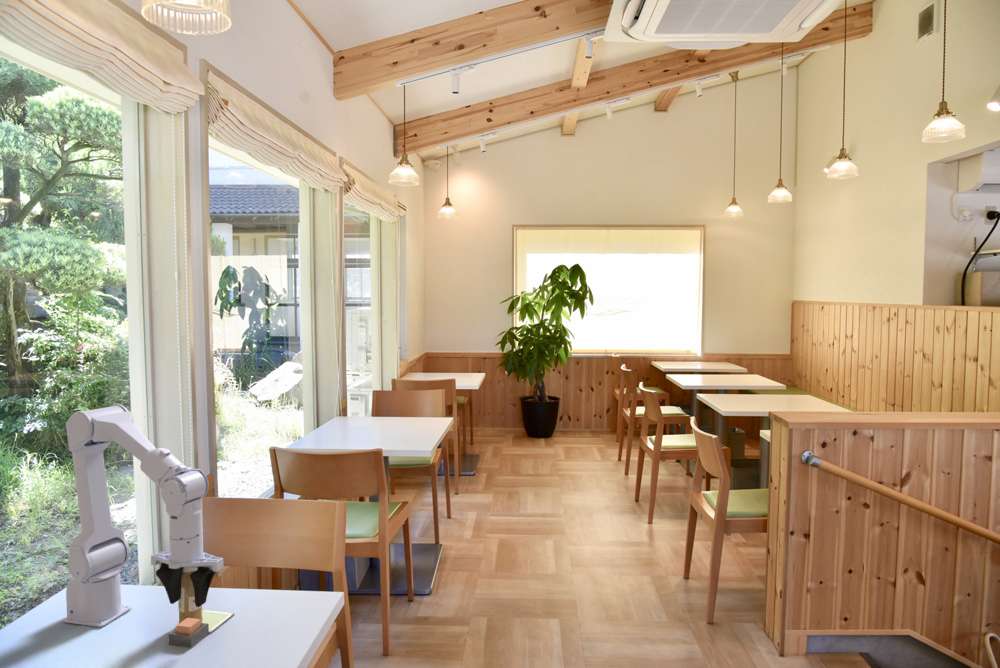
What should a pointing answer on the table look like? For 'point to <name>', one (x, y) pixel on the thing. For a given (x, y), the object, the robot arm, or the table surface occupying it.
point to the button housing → (188, 637)
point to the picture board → (215, 619)
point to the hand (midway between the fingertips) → (188, 602)
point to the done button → (188, 626)
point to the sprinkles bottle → (188, 597)
